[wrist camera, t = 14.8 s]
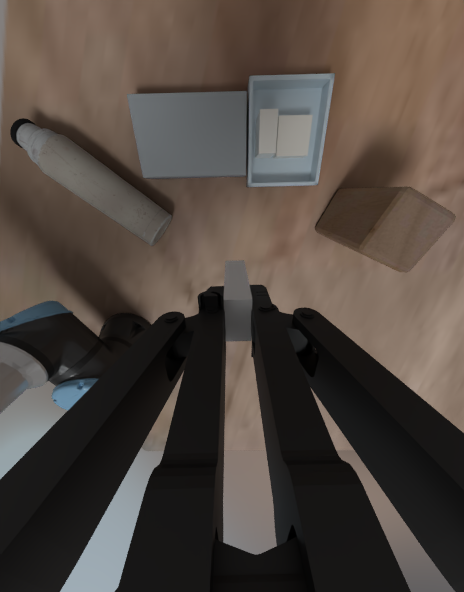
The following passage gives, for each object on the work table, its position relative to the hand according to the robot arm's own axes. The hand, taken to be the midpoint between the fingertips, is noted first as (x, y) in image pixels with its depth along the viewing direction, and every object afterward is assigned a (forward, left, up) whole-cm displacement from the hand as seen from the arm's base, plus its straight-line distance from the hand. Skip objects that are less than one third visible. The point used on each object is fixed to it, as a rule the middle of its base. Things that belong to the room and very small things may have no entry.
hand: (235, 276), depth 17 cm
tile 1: (+12, +15, -31) cm, 36 cm away
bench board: (-7, +15, -34) cm, 38 cm away
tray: (+10, +15, -34) cm, 39 cm away
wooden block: (+26, 0, -35) cm, 43 cm away
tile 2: (+5, +15, -31) cm, 35 cm away
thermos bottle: (-15, -1, -30) cm, 34 cm away
